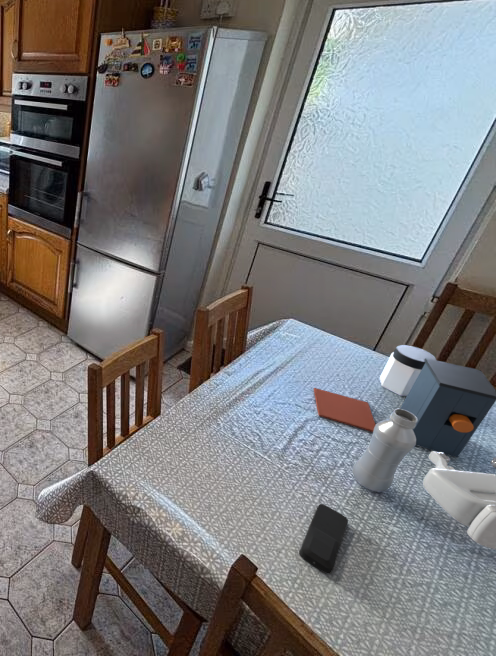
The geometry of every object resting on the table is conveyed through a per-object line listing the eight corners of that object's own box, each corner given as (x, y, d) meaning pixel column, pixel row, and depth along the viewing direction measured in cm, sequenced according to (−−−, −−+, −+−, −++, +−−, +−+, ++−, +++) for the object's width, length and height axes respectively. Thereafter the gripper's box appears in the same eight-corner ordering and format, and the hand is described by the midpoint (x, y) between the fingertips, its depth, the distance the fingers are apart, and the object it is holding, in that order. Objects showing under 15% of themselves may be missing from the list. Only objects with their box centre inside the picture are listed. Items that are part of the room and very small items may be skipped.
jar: (403, 378, 122) (420, 345, 117) (427, 397, 115) (447, 363, 110) (370, 377, 123) (386, 344, 118) (392, 396, 116) (410, 361, 110)
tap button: (465, 427, 94) (472, 417, 93) (469, 434, 93) (476, 424, 91) (446, 422, 96) (452, 411, 95) (450, 429, 94) (456, 418, 93)
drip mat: (367, 404, 113) (368, 402, 113) (377, 433, 104) (378, 431, 103) (313, 389, 119) (314, 387, 118) (318, 416, 109) (319, 414, 109)
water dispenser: (443, 429, 105) (480, 370, 97) (459, 459, 97) (501, 397, 89) (393, 415, 109) (425, 357, 101) (405, 442, 101) (440, 382, 93)
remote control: (317, 507, 87) (297, 555, 78) (320, 501, 86) (300, 549, 77) (346, 523, 84) (329, 576, 74) (349, 518, 83) (333, 570, 74)
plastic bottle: (382, 477, 92) (421, 410, 84) (390, 501, 87) (433, 432, 79) (346, 465, 96) (380, 399, 87) (352, 488, 90) (388, 420, 82)
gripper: (656, 533, 56) (545, 450, 68) (483, 513, 59) (408, 437, 71) (625, 560, 59) (524, 476, 71) (462, 541, 61) (392, 463, 74)
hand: (465, 457), depth 71 cm, fingers open, 8 cm apart
